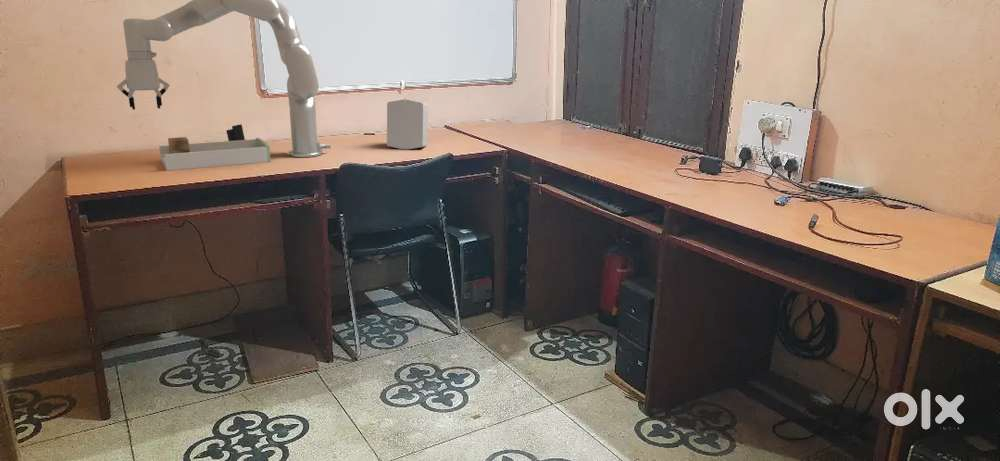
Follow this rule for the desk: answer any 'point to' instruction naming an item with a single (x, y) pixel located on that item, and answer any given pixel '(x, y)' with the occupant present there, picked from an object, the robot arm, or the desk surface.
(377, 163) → the desk surface
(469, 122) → the desk surface
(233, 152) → the shallow grey tray
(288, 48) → the robot arm
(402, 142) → the grey upright faceted block
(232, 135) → the speaker
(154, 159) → the desk surface
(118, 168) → the desk surface
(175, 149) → the block
